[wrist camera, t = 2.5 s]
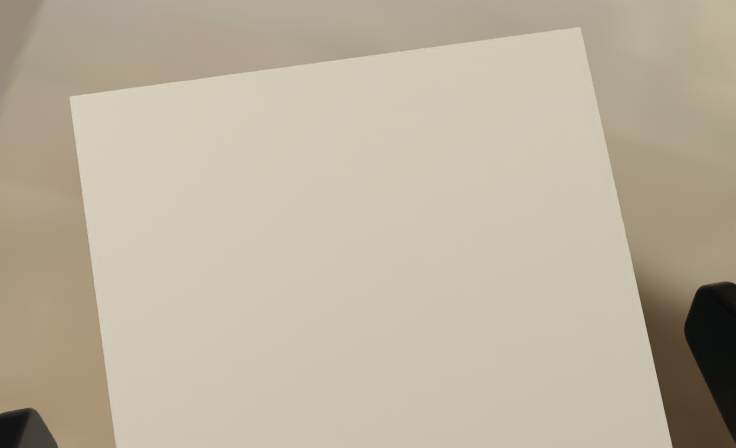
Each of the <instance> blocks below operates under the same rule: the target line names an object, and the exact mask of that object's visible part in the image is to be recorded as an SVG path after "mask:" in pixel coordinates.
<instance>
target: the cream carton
mask: <svg viewBox="0 0 736 448" xmlns="http://www.w3.org/2000/svg"><path fill="white" fill-rule="evenodd" d="M70 103H71V111H72V118H73V126H74V133H75V141H76V148H77V156H78V163H79V171H80V178H81V186H82V194H83V201H84V209H85V216H86V224H87V231H88V239H89V246H90V254H91V261H92V269H93V276H94V284H95V291H96V299H97V306H98V314H99V321H100V329H101V337H102V344H103V352H104V359H105V367H106V374H107V382H108V389H109V397H110V404H111V412H112V419H113V427H114V434H115V442H116V448H672V443H671V438H670V434H669V429H668V425H667V420H666V416H665V411H664V407H663V402H662V397H661V393H660V388H659V384H658V379H657V375H656V370H655V365H654V361H653V356H652V352H651V347H650V343H649V338H648V334H647V329H646V324H645V320H644V315H643V311H642V306H641V302H640V297H639V293H638V288H637V283H636V279H635V274H634V270H633V265H632V261H631V256H630V252H629V247H628V242H627V238H626V233H625V229H624V224H623V220H622V215H621V210H620V206H619V201H618V197H617V192H616V188H615V183H614V179H613V174H612V169H611V165H610V160H609V156H608V151H607V147H606V142H605V138H604V133H603V128H602V124H601V119H600V115H599V110H598V106H597V101H596V97H595V92H594V87H593V83H592V78H591V74H590V69H589V65H588V60H587V55H586V51H585V46H584V42H583V37H582V33H581V28H580V27H578V28H570V29H563V30H556V31H548V32H541V33H534V34H526V35H519V36H512V37H504V38H497V39H490V40H482V41H475V42H468V43H460V44H453V45H446V46H438V47H431V48H424V49H416V50H409V51H401V52H394V53H387V54H379V55H372V56H365V57H357V58H350V59H343V60H335V61H328V62H321V63H313V64H306V65H299V66H291V67H284V68H277V69H269V70H262V71H255V72H247V73H240V74H233V75H225V76H218V77H210V78H203V79H196V80H188V81H181V82H174V83H166V84H159V85H152V86H144V87H137V88H130V89H122V90H115V91H108V92H100V93H93V94H86V95H78V96H71V97H70Z"/></svg>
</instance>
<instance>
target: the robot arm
mask: <svg viewBox="0 0 736 448" xmlns="http://www.w3.org/2000/svg"><path fill="white" fill-rule="evenodd" d="M684 332H685V337H686V341H687V343H688V345H689V347H690V350H691V352H692V354H693V356H694V358H695V360H696V362H697V365H698V367H699V369H700V371H701V373H702V375H703V377H704V379H705V382H706V384H707V386H708V388H709V390H710V392H711V394H712V396H713V399H714V401H715V403H716V405H717V407H718V409H719V411H720V413H721V416H722V418H723V420H724V422H725V424H726V426H727V428H728V430H729V432H730V434H731V436H732V437H733V439H734V441H735V443H736V284H734V283H731V282H719V283H713V284H708V285H703V286H701V287H700V288H699V289H698V290H697V292H696V294H695V296H694V299H693V302H692V305H691V308H690V311H689V313H688V316H687V319H686V322H685V327H684ZM0 448H58V446H57V443H56V441H55V440H54V438H53V436H52V435H51V433H50V431H49V430H48V428H47V426H46V425H45V423H44V421H43V420H42V418H41V416H40V415H39V413H38V412H37V411H36V410H34V409H32V408H25V409H20V410H14V411H9V412H4V413H1V414H0Z"/></svg>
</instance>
